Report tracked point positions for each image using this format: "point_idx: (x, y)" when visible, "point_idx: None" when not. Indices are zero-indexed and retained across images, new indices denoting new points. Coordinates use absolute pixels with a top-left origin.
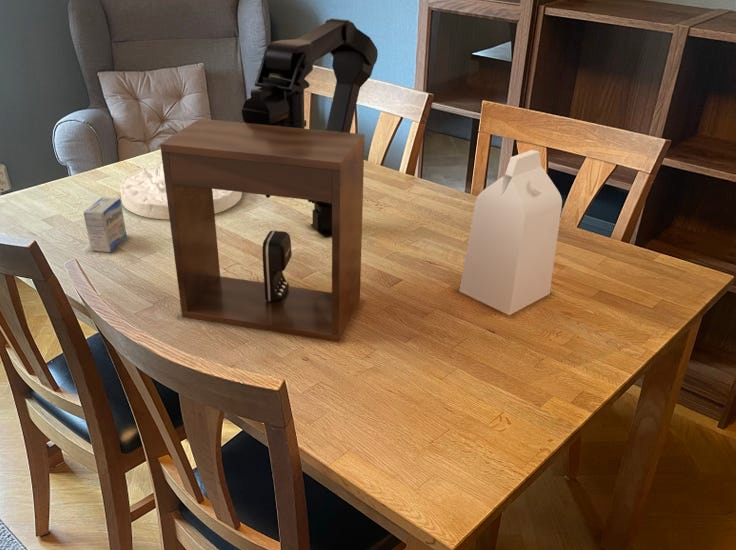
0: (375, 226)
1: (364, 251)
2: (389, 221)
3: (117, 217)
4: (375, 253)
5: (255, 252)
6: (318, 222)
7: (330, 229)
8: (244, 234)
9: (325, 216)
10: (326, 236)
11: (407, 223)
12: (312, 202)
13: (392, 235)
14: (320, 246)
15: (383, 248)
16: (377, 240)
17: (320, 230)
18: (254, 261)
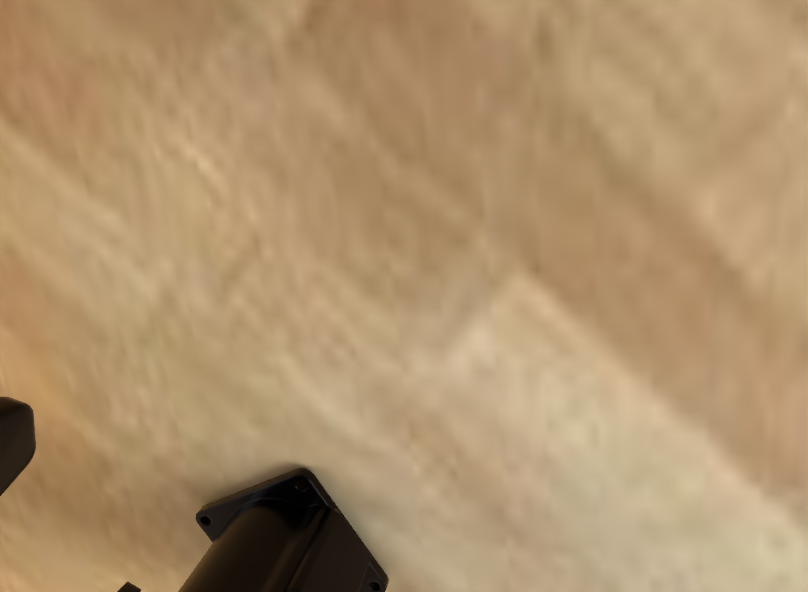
0: (114, 541)
1: (96, 309)
2: (75, 573)
3: None
4: (44, 286)
5: (715, 318)
6: (314, 550)
7: (271, 511)
8: (782, 557)
9: (262, 576)
10: (296, 469)
11: (8, 547)
12: (11, 402)
13: None
14: (314, 375)
15: (26, 336)
16: (72, 416)
17: (324, 515)
18: (728, 181)
